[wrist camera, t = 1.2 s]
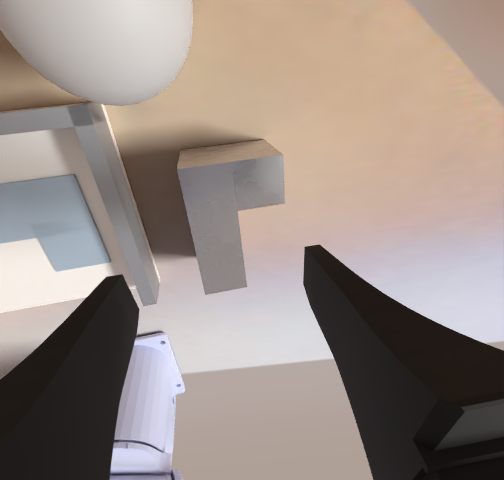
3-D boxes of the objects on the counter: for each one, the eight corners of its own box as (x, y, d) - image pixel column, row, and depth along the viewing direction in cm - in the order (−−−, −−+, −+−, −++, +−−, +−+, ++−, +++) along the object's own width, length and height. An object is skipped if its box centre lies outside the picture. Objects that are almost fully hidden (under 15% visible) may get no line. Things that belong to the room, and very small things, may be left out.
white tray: (160, 279, 24) (156, 303, 22) (-15, 311, 23) (-43, 341, 20) (103, 100, 17) (86, 104, 15) (-158, 128, 16) (-229, 138, 13)
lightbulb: (101, -68, 14) (-92, -389, 4) (210, 19, 16) (236, -69, 7) (64, 55, 16) (-125, 14, 6) (166, 116, 18) (138, 152, 9)
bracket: (270, 245, 25) (287, 279, 20) (203, 256, 24) (205, 294, 20) (264, 139, 20) (283, 154, 16) (180, 150, 19) (176, 168, 15)
